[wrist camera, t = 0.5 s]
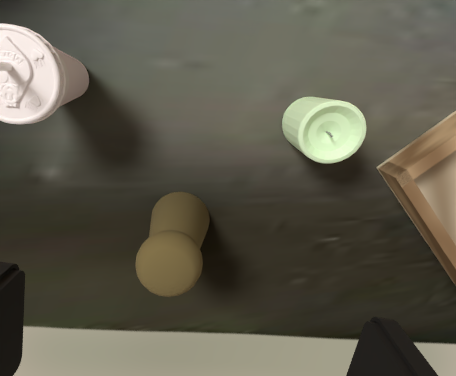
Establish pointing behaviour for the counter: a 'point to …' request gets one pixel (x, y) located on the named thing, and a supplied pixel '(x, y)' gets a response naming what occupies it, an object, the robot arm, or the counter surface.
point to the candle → (324, 128)
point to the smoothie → (35, 76)
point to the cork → (173, 245)
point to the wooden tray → (429, 188)
